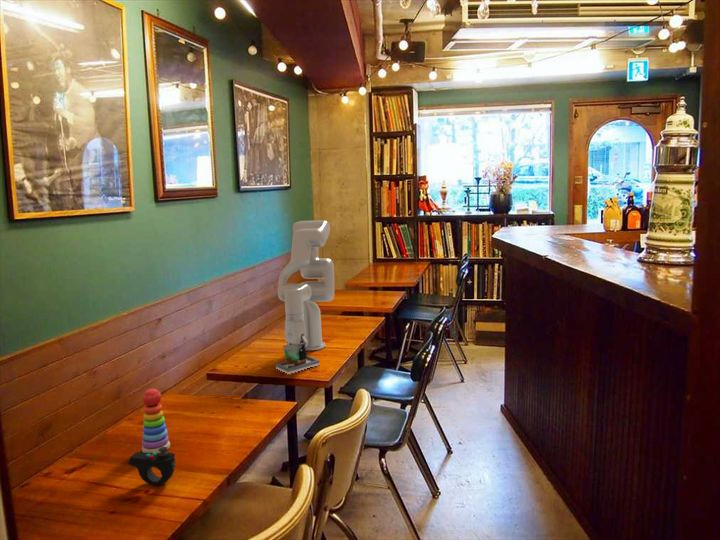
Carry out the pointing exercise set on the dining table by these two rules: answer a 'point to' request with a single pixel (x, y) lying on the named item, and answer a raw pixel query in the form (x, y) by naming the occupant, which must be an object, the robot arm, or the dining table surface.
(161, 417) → the stacking toy
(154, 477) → the controller
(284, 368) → the framed board
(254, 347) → the dining table surface
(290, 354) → the food container
